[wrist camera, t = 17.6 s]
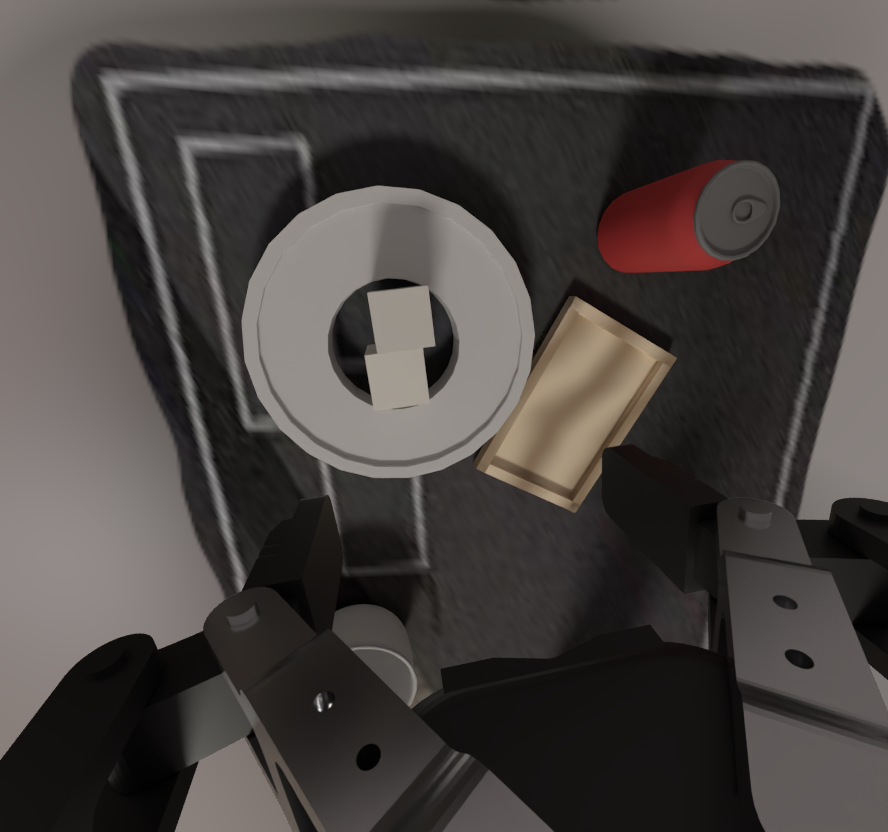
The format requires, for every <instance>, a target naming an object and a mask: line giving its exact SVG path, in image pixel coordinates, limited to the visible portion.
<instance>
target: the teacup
mask: <svg viewBox="0 0 888 832" xmlns="http://www.w3.org/2000/svg"><path fill="white" fill-rule="evenodd" d="M332 631H333V632H334V633H335V634H336V635H337V636H338V637H339V638H340V639H341V640H342V641H343V642H344V643H345V644H346V645H347V646H348V647H349V648H350V649H351V650H352V651H353V652H354V653H355V654H356V655H357V656H358V657H359V658H360V659H361V660H362V661H363V662H364V663H365V664H366V665H367V666H368V667H369V668H370V669H371V670H372V671H373V672H374V673H375V674H376V675H377V676H378V677H379V678H380V679H381V680H382V681H383V682H385V683H386V684H387V685H388V686H389V687H390V688H391V689H392V690H393V691H394V692H395V693H396V694H397V695H398V696H399V697H400V698H401V699H402V700H403V701H404V702H405V703H406V704H407V705H408V706H410V705H411V703H412V701H413V699H414V696H415V694H416V690H417V676H416V672H415V670H414V665H413V658H412V652H411V647H410V642H409V638H408V635H407V632H406V630H405V627H404V626H403V624H402V622H401V621H400V620H399V619H398V617H397V616H395V615H394V614H393V613H392V612H390V611H389V610H387V609H385V608H383V607H380V606H376V605H370V604H358V605H352V606H348V607H345V608H342V609H340V610H338V611H336V612H335V615H334V621H333V628H332Z"/></svg>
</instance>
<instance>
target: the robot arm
mask: <svg viewBox="0 0 888 832" xmlns="http://www.w3.org/2000/svg"><path fill="white" fill-rule="evenodd" d="M602 500H603V504H604V507H605V510H606V512H607V514H608V515H609V516H610V518H611V519H612V520H613V521H614V522H615V523H616V524H617V525H618V526H619V527H620V528H621V529H622V530H623V531H624V532H625V533H626V534H627V535H628V536H629V537H630V538H631V539H632V540H633V541H634V543H635V544H636V545H637V546H638V547H639V548H640V549H641V550H642V551H643V552H644V553H645V554H646V555H647V556H648V557H649V558H650V559H651V560H652V561H653V562H654V563H655V564H656V565H657V566H658V567H659V568H660V569H661V571H662V572H663V573H664V574H665V575H666V576H667V577H668V578H669V579H670V580H671V581H672V582H673V583H674V584H675V585H676V586H677V587H678V588H679V589H680V590H681V591H682V592H683V593H684V594H686V593H691V592H696V591H701V590H706V591H707V592H709V596H708V638H709V650H707V649H703V648H700V647H697V646H692V645H687V644H682V643H674V642H663V641H662V639H661V638H660V637H659V636H658V634H657V633H656V632H655V630H654V629H653V628H652V627H651V625H646V626H641V627H636V628H631V629H627V630H622V631H617V632H613V633H608V634H603V635H600V636H598V637H596V638H594V639H592V640H590V641H588V642H586V643H584V644H582V645H580V646H578V647H576V648H574V649H572V650H570V651H568V652H566V653H564V654H562V655H560V656H558V657H555V658H551V659H533V658H490V659H485V660H481V661H476V662H471V663H467V664H462V665H457V666H452V667H448V668H443V669H441V676H442V683H443V688H442V689H440V690H438V691H437V692H435V693H433V694H431V695H430V696H428V697H427V698H425V699H424V700H422V701H421V702H420V703H418V704H417V705H416V706H415V707H413V708H412V709H411V708H410V707H409V706H408V705H407V704H406V703H405V702H404V701H403V700H402V699H401V698H400V697H399V696H398V695H397V694H396V693H395V692H394V691H393V690H392V689H391V688H390V687H389V686H388V685H387V684H386V683H385V682H383V681H382V680H381V679H380V678H379V677H378V676H377V675H376V674H375V673H374V672H373V671H372V670H371V669H370V668H369V667H368V666H367V665H366V664H365V663H364V662H363V661H362V660H361V659H360V658H359V657H358V656H357V655H356V654H355V653H354V652H353V651H352V650H351V649H350V648H349V647H348V646H347V645H346V644H345V643H344V642H343V641H342V640H341V639H340V638H339V637H338V636H337V635H336V634H335V633H334V632H333V631H332V628H333V621H334V615H335V609H336V603H337V596H338V590H339V584H340V577H341V571H342V564H343V556H342V546H341V541H340V537H339V533H338V528H337V524H336V520H335V516H334V511H333V507H332V503H331V500H330V497H329V496H328V495H324V496H318V497H312V498H307V499H301V500H300V501H299V503H298V506H297V508H296V511H295V513H294V516H293V518H292V519H288V520H282V521H281V522H280V523H279V524H278V525H277V526H276V527H275V528H274V529H273V530H272V531H271V532H270V533H269V535H268V537H267V539H266V541H265V543H264V545H263V546H264V548H262V549H261V552H260V554H259V558H258V559H257V560H256V562H255V564H254V566H253V568H252V570H251V573H250V575H249V577H248V579H247V581H246V583H245V585H244V587H243V589H242V591H241V592H239V593H236V594H234V595H232V596H231V597H229V598H227V599H226V600H224V601H223V602H221V603H220V604H219V605H218V606H217V607H216V608H214V610H213V611H212V612H211V613H210V614H209V616H208V617H207V619H206V621H205V623H204V626H203V631H202V632H200V633H197V634H195V635H193V636H190V637H188V638H186V639H183V640H181V641H178V642H176V643H174V644H171V645H169V646H166V647H164V648H161V649H159V650H158V649H157V647H156V644H155V643H154V640H153V638H152V637H151V636H149V635H147V634H131V635H127V636H124V637H120V638H117V639H115V640H113V641H110V642H108V643H106V644H104V645H102V646H101V647H99V648H97V649H95V650H94V651H92V652H91V653H89V654H88V655H87V656H85V657H84V658H83V659H81V660H80V661H79V662H78V663H77V664H75V665H74V667H72V668H71V670H70V671H69V672H68V673H67V674H66V675H65V676H64V678H63V679H62V680H61V682H60V683H59V684H58V686H57V687H56V688H55V689H54V691H53V692H52V693H51V695H50V696H49V697H48V699H47V700H46V701H45V703H44V704H43V705H42V706H41V708H40V709H39V710H38V712H37V713H36V714H35V716H34V717H33V718H32V719H31V721H30V722H29V723H28V725H27V726H26V727H25V729H24V730H23V731H22V733H21V734H20V735H19V737H18V738H17V739H16V741H15V742H14V743H13V744H12V746H11V747H10V748H9V750H8V751H7V752H6V754H5V755H4V756H3V757H2V759H1V760H0V832H175V829H176V826H177V823H178V820H179V817H180V815H181V811H182V809H183V805H184V803H185V800H186V797H187V794H188V791H189V788H190V785H191V782H192V779H193V776H194V774H195V770H196V768H197V765H198V762H199V760H201V759H203V758H205V757H207V756H209V755H211V754H213V753H215V752H216V751H218V750H220V749H222V748H224V747H226V746H228V745H230V744H232V743H234V742H236V741H237V740H240V739H241V738H243V737H245V740H246V742H247V744H248V746H249V747H250V749H251V751H252V753H253V755H254V757H255V759H256V761H257V763H258V764H259V766H260V768H261V770H262V772H263V774H264V776H265V778H266V779H267V782H268V783H269V785H270V787H271V789H272V791H273V793H274V795H275V797H276V799H277V801H278V802H279V804H280V806H281V808H282V810H283V812H284V814H285V816H286V818H287V820H288V823H289V825H290V827H291V829H292V832H888V711H887V708H886V706H885V703H884V701H883V699H882V696H881V694H880V691H879V689H878V687H877V684H876V682H875V679H874V677H873V674H872V672H871V669H870V667H869V664H870V665H871V666H872V667H873V668H874V669H875V670H877V671H878V672H879V673H880V674H881V675H883V676H884V677H885V678H886V679H887V680H888V502H883V501H879V500H873V499H866V498H844V499H840V500H837V501H835V502H834V503H833V504H832V508H831V513H830V518H829V520H795V518H794V516H793V515H792V514H791V513H790V512H789V511H787V510H786V509H784V508H782V507H780V506H778V505H776V504H773V503H770V502H767V501H763V500H759V499H753V498H730V499H728V498H727V497H725V496H724V495H722V494H720V493H719V492H717V491H716V490H714V489H712V488H711V487H709V486H708V485H706V484H704V483H703V482H701V481H700V480H698V479H697V480H695V477H693V476H692V475H690V474H688V473H687V472H686V473H684V471H683V470H682V469H680V468H679V467H677V466H675V465H674V464H672V463H671V462H668V461H665V460H662V459H659V458H656V457H653V456H650V455H649V454H647V453H646V452H644V451H642V450H641V449H639V448H638V447H636V446H635V445H633V444H625V445H619V446H613V447H608V448H605V449H604V450H603V453H602Z"/></svg>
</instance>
